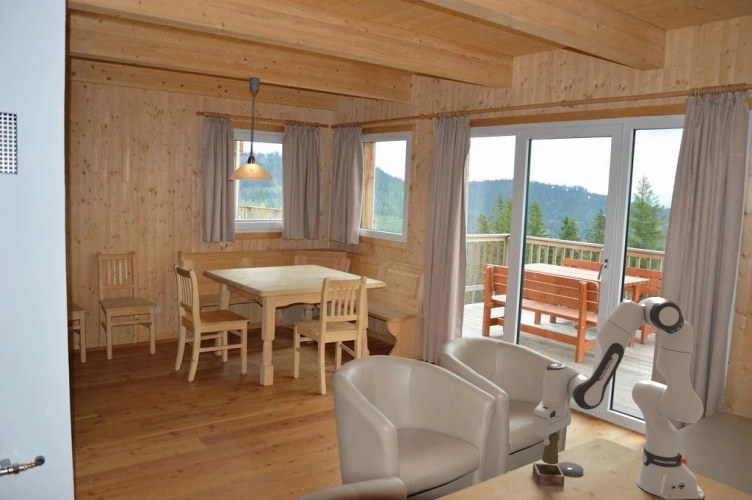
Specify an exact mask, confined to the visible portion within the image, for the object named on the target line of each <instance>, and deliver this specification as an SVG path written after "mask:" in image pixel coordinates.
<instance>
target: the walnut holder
mask: <svg viewBox="0 0 752 500" xmlns="http://www.w3.org/2000/svg"><path fill="white" fill-rule="evenodd" d="M532 474H533V477H534V479H535V483H536V485H537V486H545V487H546V486H548V487H561V488H564V487H565V476H566V475H564V474H563V472H562V471H561V469H560V467H559V465H558V463H557V464H548V463H544V462H543V463H541V462H540V463H539V462H533V463H532Z"/></svg>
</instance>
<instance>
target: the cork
mask: <svg viewBox="0 0 752 500" xmlns="http://www.w3.org/2000/svg"><path fill="white" fill-rule="evenodd" d="M548 438H549V440H550V444H549V445H544V448H543V452H542V453H543V454H542V457H541V460H542V462H543V463H544V464H558V463H559V450H558V449H559V447H558V442H559V441H560V440H559V435H558V433H556V432H554V433H552V434H550V435H549V437H548Z"/></svg>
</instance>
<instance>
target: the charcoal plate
mask: <svg viewBox="0 0 752 500" xmlns="http://www.w3.org/2000/svg"><path fill="white" fill-rule="evenodd" d="M557 464H558V465H559V467H560V469H561V471H562V472H563V474H564V476H568V477H581V476H583V475H584V471H585V470H584V468H583V467H582V465H579V464H577V463H574V462H570V461H569V462H568V461H561V462H558V463H557Z"/></svg>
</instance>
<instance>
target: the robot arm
mask: <svg viewBox="0 0 752 500" xmlns="http://www.w3.org/2000/svg"><path fill="white" fill-rule="evenodd" d="M646 325H648V326H650V327H652V328H657V329H658V330H659V333H660V338H659V344H658V349H657V356H656V361H655V366H656V367H655V368H656V369H657V371H658V372H659V374H661V375H662V376H663V378H664V380H665V383H666V384H664V383H661V382H658V381H655V380H650V379H639V380H638V381H637V382H636V383H635V384H634V385H633V387H632V390H631V397H632V400H633V402H634V404H635V405H637V407H638V409H639V410H640V412H641V416H642V417H643V420H644V424H645V444H644V445H645V446H643V452H642V466H641V469H640V472H639V476H638V478H637V480H636V484H637V486H638V487H639V488H640V489H641V490H643V491H645V492H648V494H649V493H650V494H652V495H655V496H658V497H660V498H662V499H663V500H696V499H697V500H702V499H704V497H705V496H704V495H705V494H704V491H703V490H702V488H701V487H700V486H699V485H698V481H697V477H696V476H695V474H694V473H693V472H692V471H691V470H690V469H689V468H688V467H687V466H686V464H687V463H688V462H689V461H688V458H686V457H685V456H683V455H682V454H681V453H680V452H679V445H680V434H679V430H678V429H677V428H676V427H675V425H673V423H672V422H671V420H675V421H678V422H682V423H688V424H695V423H696V422H698V421H699V420H700V419H701V418H702V416H703V415H704V404H703V401H702V399H701V398H700V397H699V396H698V394H697V393H696V391H695V390H694V388H693V385H692V382H691V378H690V377H691V375H690V368H691V362H692V361H691V360H692V353H693V349H694V327H693V325H692V323H690V322H688V321H687V320H685V319H684V318H683V313H682V310H681V308H680V307H679V306H678V305H677V304H676V302H673V301H672V300H669V299H666V297H665V298H664V297H659V296H652V295H651V296H650V295H649V296H646V297H645V296H644V297H642V298H641V299H639V300H637V301H633V300H629V299H625V300H622V301H621V302H619V304H618V305H616V307H614V308H613V309H612V311H611V312H610V313H609V314H608V315H607V317H606V319H605V320H604V321H603V323H602V324H601V326H600V327H599V330H598V333H597V340H598V343H599V346H600V349H601V355H600V356H601V357H600V359H599V361H598V363H597V364H596V366H595V368H594V370H593V372H592V373H591V375H590V377H589V376H588V375H587V374H585V373H584V372H582V371H578V370H575V369H572V368H570V367H569V366H567V365H566V364H565V363H561V362H552V363H550V364H548V365H547V366H546V367H545V370H544V373H543V381H542V382H543V383H542V389H543V394H542V396H541V397H542V398H541V401H539V403H538V404H537V406H535V408H534V409H533V414H534V415H535V416H534V418H533V425H532V432H533V435H534V436H535V437H537V438H540V439H543V445H544V446H545V445H549V444H550V440H549V438H548V437H549V435H550V434H552V433H554V432H556V433H558V435H559V441H560V440H561V434H562V433H563V429H565V428H567V427H569V426H570V425H571V424H572V410H571V408H570V403H569V401H568V399H569V398H571V399H572V400H573V401H574V402H575V403H576V405H577V406H578V407H579V408H581V409H583V410H587V411H590V410H594V409H596V408H598V407H599V406H600V405H601V404H602V403H603V400H604V397H605V393H606V390H607V387H608V385H609V383H610V382H611V380H612V378H613V376H614V375H615V373H616V372H617V369H618V368H619V366H620V365H621V362H622V359H623V358H624V356H625V355H624V354H625V351H626V349H627V347H628V345H629V343H630V342H631V340H632V339H633V337H634V336H635V334H636V333H637V331H638V330H639V329H640V328H642V327H644V326H646ZM670 419H671V420H670Z"/></svg>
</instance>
